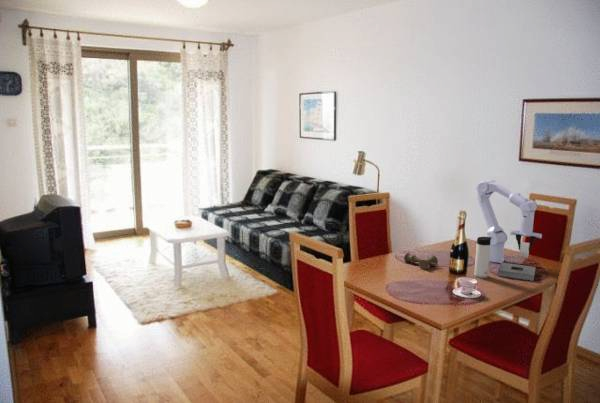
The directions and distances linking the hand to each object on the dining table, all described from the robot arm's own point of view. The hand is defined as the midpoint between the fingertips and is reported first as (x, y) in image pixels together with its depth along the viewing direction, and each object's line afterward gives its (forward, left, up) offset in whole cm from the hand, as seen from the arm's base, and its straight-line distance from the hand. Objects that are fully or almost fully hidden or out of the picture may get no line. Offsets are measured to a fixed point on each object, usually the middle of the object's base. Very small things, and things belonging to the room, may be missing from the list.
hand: (524, 249), depth 252 cm
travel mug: (-17, -24, -10) cm, 31 cm away
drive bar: (0, 0, -3) cm, 3 cm away
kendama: (-47, -22, -10) cm, 53 cm away
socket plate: (-2, -12, -10) cm, 16 cm away
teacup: (-19, -51, -10) cm, 55 cm away
